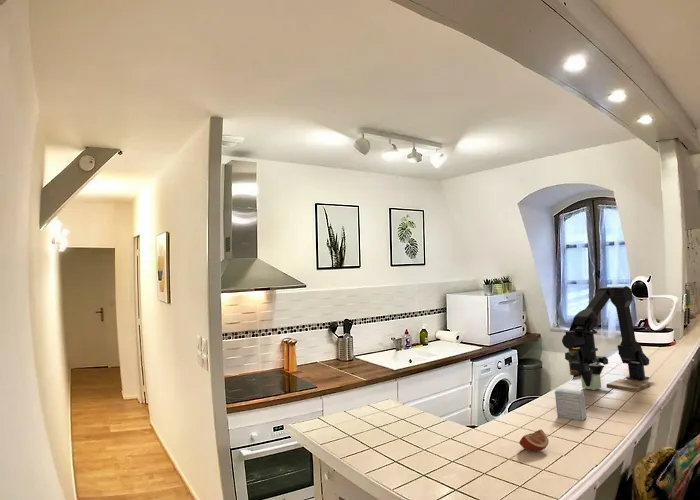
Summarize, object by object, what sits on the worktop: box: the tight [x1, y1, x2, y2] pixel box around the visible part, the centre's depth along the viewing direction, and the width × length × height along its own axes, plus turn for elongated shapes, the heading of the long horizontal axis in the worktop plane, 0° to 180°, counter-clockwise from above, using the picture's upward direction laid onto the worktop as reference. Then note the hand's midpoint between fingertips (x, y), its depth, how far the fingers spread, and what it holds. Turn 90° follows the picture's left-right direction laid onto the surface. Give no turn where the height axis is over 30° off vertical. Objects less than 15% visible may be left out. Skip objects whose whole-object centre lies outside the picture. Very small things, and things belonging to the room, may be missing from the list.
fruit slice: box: [518, 428, 550, 453], centre depth 120 cm, size 8×7×5 cm
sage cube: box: [580, 374, 602, 391], centre depth 175 cm, size 5×5×5 cm
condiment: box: [567, 348, 581, 377], centre depth 201 cm, size 7×8×12 cm
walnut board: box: [606, 378, 650, 392], centre depth 175 cm, size 11×11×1 cm
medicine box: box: [554, 388, 587, 422], centre depth 144 cm, size 8×4×9 cm, turn 47°
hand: (591, 384), depth 175 cm, fingers closed on sage cube, 5 cm apart
